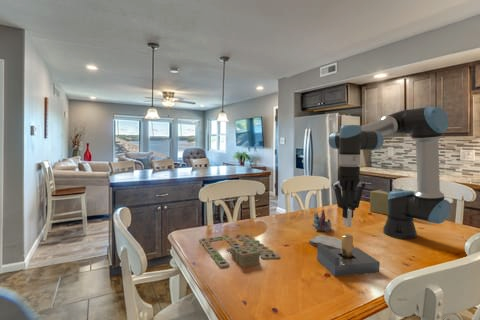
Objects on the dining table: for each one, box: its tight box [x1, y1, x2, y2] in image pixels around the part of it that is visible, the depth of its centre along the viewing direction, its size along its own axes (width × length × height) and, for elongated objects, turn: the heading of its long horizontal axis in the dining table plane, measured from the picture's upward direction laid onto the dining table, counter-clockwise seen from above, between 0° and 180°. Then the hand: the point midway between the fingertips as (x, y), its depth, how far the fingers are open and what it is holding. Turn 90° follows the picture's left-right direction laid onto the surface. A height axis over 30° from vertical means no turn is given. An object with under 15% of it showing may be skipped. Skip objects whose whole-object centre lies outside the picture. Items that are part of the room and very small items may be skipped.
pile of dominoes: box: [198, 234, 281, 269], centre depth 121 cm, size 35×27×6 cm
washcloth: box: [308, 234, 354, 249], centre depth 125 cm, size 12×18×3 cm, turn 47°
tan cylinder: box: [341, 233, 354, 259], centre depth 104 cm, size 4×4×12 cm
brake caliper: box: [311, 209, 332, 232], centre depth 149 cm, size 11×11×12 cm
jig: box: [316, 243, 380, 278], centre depth 104 cm, size 18×14×7 cm
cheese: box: [369, 189, 390, 216], centre depth 177 cm, size 22×10×15 cm, turn 24°
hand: (347, 225), depth 103 cm, fingers closed
